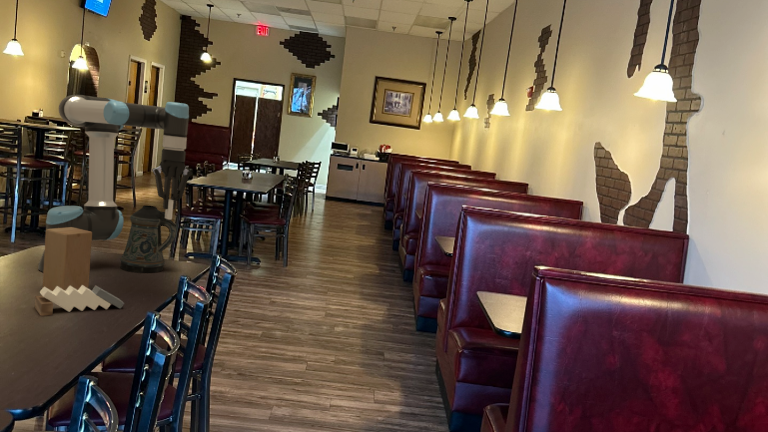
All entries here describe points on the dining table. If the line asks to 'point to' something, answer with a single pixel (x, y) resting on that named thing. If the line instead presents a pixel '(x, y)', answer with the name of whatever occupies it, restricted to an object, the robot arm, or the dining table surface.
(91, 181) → the robot arm
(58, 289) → the domino
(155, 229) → the beer stein
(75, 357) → the dining table surface
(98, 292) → the domino
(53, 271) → the wooden block
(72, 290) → the domino
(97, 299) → the domino
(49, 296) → the domino
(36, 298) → the end block
